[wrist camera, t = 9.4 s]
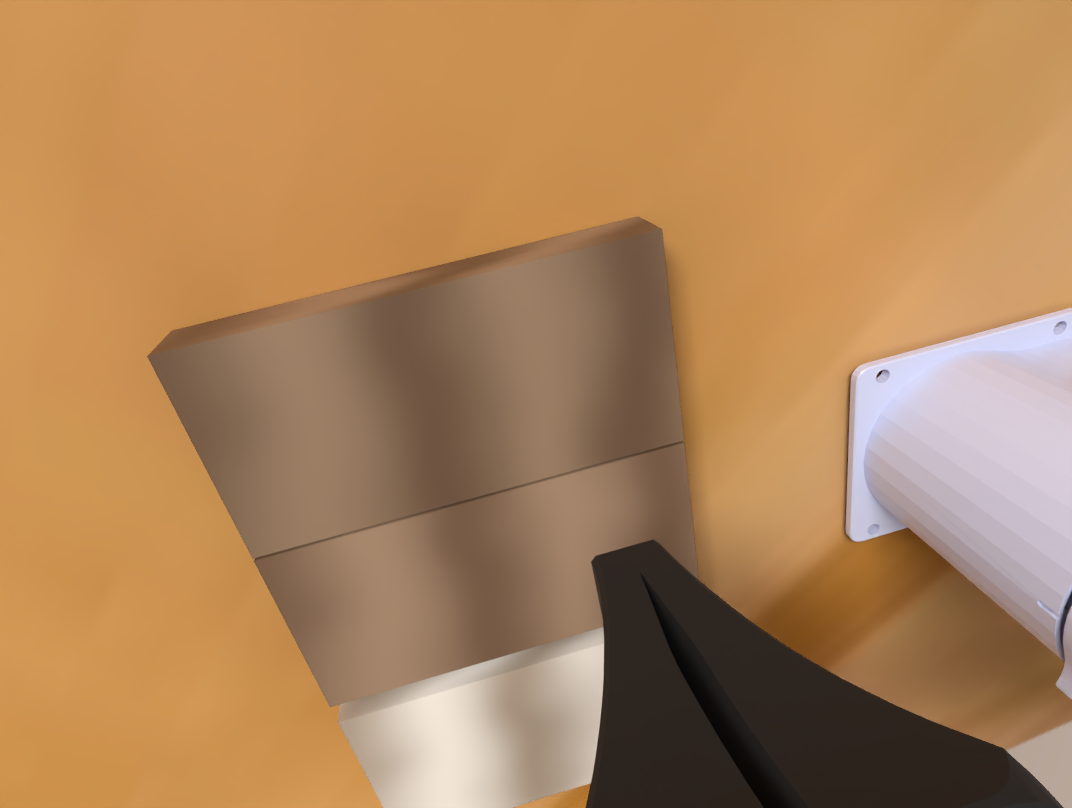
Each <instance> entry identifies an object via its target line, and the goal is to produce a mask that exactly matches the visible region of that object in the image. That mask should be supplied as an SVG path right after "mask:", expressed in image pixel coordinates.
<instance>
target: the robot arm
mask: <svg viewBox="0 0 1072 808" xmlns="http://www.w3.org/2000/svg"><path fill="white" fill-rule="evenodd" d="M880 371H882V373H881V375H880V376H879V377H877V378H876V376H877V374H878V373H879V372H880ZM871 525H872V526H871ZM870 526H871V527H870ZM905 528H909V529H910V530H912V531H913V532H914V533H915V534H916V535H917V536H919V537H920V538H921V539H922V540H923V541H924V542H925V543H927V544H928V545H929V546H930V547H931V548H932V549H934V550H935V551H936V552H937V553H938V554H939V555H941V556H942V557H943V558H944V559H945V560H946V561H948V562H949V563H950V564H951V565H952V566H953V567H955V568H956V569H957V570H958V571H959V572H960V573H961V574H963V575H964V576H965V577H966V578H967V579H968V580H970V581H971V582H972V583H973V584H974V585H975V586H977V587H978V588H979V589H980V590H981V591H982V592H984V593H985V594H986V595H987V596H988V597H989V598H991V599H992V600H993V601H994V602H995V603H996V604H997V605H999V606H1000V607H1001V608H1002V609H1003V610H1004V611H1006V612H1007V613H1008V614H1009V615H1010V616H1011V617H1013V618H1014V619H1015V620H1016V621H1017V622H1018V623H1020V624H1021V625H1022V626H1023V627H1024V628H1025V629H1027V630H1028V631H1029V632H1030V633H1031V634H1032V635H1034V636H1035V637H1036V638H1037V639H1038V640H1039V641H1040V642H1042V643H1043V644H1044V645H1045V646H1046V647H1047V648H1049V649H1050V650H1051V651H1052V652H1053V653H1054V654H1056V655H1057V656H1058V657H1059V658H1060V659H1061V660H1063V661H1064V662H1065V663H1064V668H1063V670H1062V673H1061V675H1060V677H1059V678H1058V680H1057V682H1056V687H1057V688H1059V689H1060V690H1061V691H1062V692H1063V693H1064V694H1065V695H1066V696H1067V697H1069V698H1070V699H1071V700H1072V307H1071V308H1068V309H1064V310H1060V311H1057V312H1053V313H1049V314H1046V315H1042V316H1038V317H1035V318H1031V319H1027V320H1023V321H1020V322H1016V323H1012V324H1009V325H1005V326H1001V327H998V328H994V329H990V330H987V331H983V332H979V333H975V334H972V335H968V336H964V337H961V338H957V339H953V340H950V341H946V342H942V343H939V344H935V345H931V346H927V347H924V348H920V349H916V350H913V351H909V352H905V353H902V354H898V355H894V356H891V357H887V358H883V359H879V360H876V361H872V362H868V363H865V364H862V365H860V366H859V367H857V368H856V369H855V370H854V372H853V374H852V377H851V389H850V418H849V447H848V476H847V505H846V534H847V535H848V536H849V537H850V538H851V539H852V540H853V541H855V542H860V541H864V540H867V539H871V538H874V537H878V536H881V535H884V534H888V533H891V532H895V531H898V530H902V529H905ZM591 564H592V569H593V574H594V579H595V584H596V589H597V594H598V599H599V603H600V608H601V613H602V618H603V631H604V677H603V695H602V707H601V718H600V727H599V735H598V742H597V749H596V757H595V763H594V769H593V775H592V780H591V785H590V790H589V795H588V800H587V805H586V808H1063V807H1062V806H1061V805H1060V803H1059V802H1058V801H1057V800H1056V799H1055V798H1054V797H1053V796H1052V795H1051V794H1050V792H1049V791H1047V789H1046V788H1045V787H1044V786H1043V785H1042V784H1041V783H1040V782H1039V781H1038V780H1037V779H1036V778H1035V777H1034V776H1033V775H1032V774H1031V773H1030V772H1029V771H1028V770H1026V769H1025V768H1024V767H1023V766H1022V765H1021V764H1020V763H1019V762H1017V761H1016V760H1015V759H1014V758H1013V757H1012V756H1011V755H1010V754H1009V753H1008V752H1007V751H1006V750H1005V749H1003V748H1001V747H998V746H996V745H993V744H990V743H988V742H985V741H982V740H980V739H977V738H974V737H972V736H969V735H966V734H964V733H961V732H958V731H956V730H953V729H950V728H948V727H945V726H942V725H940V724H937V723H935V722H932V721H930V720H927V719H925V718H923V717H921V716H918V715H916V714H914V713H911V712H909V711H907V710H905V709H902V708H900V707H898V706H895V705H893V704H891V703H889V702H887V701H885V700H883V699H881V698H879V697H877V696H875V695H873V694H871V693H869V692H867V691H865V690H863V689H861V688H859V687H857V686H855V685H853V684H851V683H849V682H847V681H845V680H843V679H842V678H840V677H838V676H836V675H834V674H833V673H831V672H829V671H827V670H826V669H824V668H822V667H820V666H819V665H817V664H815V663H813V662H812V661H810V660H808V659H807V658H805V657H803V656H802V655H800V654H799V653H797V652H795V651H794V650H792V649H790V648H789V647H787V646H786V645H784V644H783V643H781V642H780V641H778V640H777V639H775V638H774V637H772V636H771V635H769V634H768V633H766V632H765V631H764V630H762V629H761V628H759V627H758V626H757V625H755V624H754V623H752V622H751V621H750V620H748V619H747V618H745V617H744V616H743V615H741V614H740V613H739V612H737V611H736V610H735V609H734V608H732V607H731V606H730V605H728V604H727V603H726V602H725V601H723V600H722V599H721V598H720V597H719V596H717V595H716V594H715V593H714V592H712V591H711V590H710V589H709V588H707V587H706V586H705V585H704V584H703V583H701V582H700V581H699V580H698V579H697V578H696V577H695V576H693V575H692V574H691V573H690V572H689V571H688V570H687V569H686V568H684V567H683V566H682V565H681V564H680V563H679V562H678V561H677V560H676V559H675V558H674V557H673V556H672V555H671V554H670V553H669V552H668V551H667V550H666V549H665V548H664V547H663V546H662V545H661V544H660V543H659V542H657V541H655V540H649V541H646V542H642V543H639V544H635V545H632V546H628V547H625V548H621V549H618V550H614V551H611V552H607V553H604V554H600V555H597V556H595V557H594V558H593V560H592V561H591Z"/></svg>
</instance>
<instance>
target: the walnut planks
mask: <svg viewBox="0 0 1072 808" xmlns="http://www.w3.org/2000/svg"><path fill="white" fill-rule="evenodd" d="M147 357H148V359H149V361H150V362H151V364H152V366H153V368H154V370H155V372H156V374H157V376H158V378H159V380H160V382H161V384H162V386H163V387H164V389H165V391H166V393H167V395H168V397H169V399H170V401H171V403H172V405H173V407H174V409H175V410H176V412H177V414H178V416H179V418H180V420H181V422H182V424H183V426H184V428H185V430H186V432H187V434H188V435H189V437H190V439H191V441H192V443H193V445H194V447H195V449H196V451H197V453H198V455H199V457H200V458H201V460H202V462H203V464H204V466H205V468H206V470H207V472H208V474H209V476H210V478H211V480H212V481H213V483H214V485H215V487H216V489H217V491H218V493H219V495H220V497H221V499H222V501H223V503H224V505H225V506H226V508H227V510H228V512H229V514H230V516H231V518H232V520H233V522H234V524H235V526H236V528H237V529H238V531H239V533H240V535H241V537H242V539H243V541H244V543H245V545H246V547H247V549H248V551H249V553H250V554H251V556H252V558H253V559H254V558H255V560H254V562H255V564H256V566H257V568H258V570H259V572H260V574H261V576H262V577H263V579H264V581H265V583H266V585H267V587H268V589H269V591H270V593H271V595H272V597H273V599H274V600H275V602H276V604H277V606H278V608H279V610H280V612H281V614H282V616H283V618H284V620H285V622H286V624H287V625H288V627H289V629H290V631H291V633H292V635H293V637H294V639H295V641H296V643H297V645H298V647H299V648H300V650H301V652H302V654H303V656H304V658H305V660H306V662H307V664H308V666H309V668H310V670H311V672H312V673H313V675H314V677H315V679H316V681H317V683H318V685H319V687H320V689H321V691H322V693H323V695H324V696H325V698H326V700H327V702H328V704H329V706H330V707H333V706H336V705H340V704H343V703H346V702H350V701H353V700H357V699H360V698H363V697H367V696H370V695H374V694H377V693H380V692H384V691H387V690H391V689H394V688H397V687H401V686H404V685H408V684H411V683H414V682H418V681H421V680H425V679H428V678H431V677H435V676H438V675H442V674H445V673H448V672H452V671H455V670H458V669H462V668H465V667H469V666H472V665H475V664H479V663H482V662H486V661H489V660H492V659H496V658H499V657H503V656H506V655H509V654H513V653H516V652H520V651H523V650H526V649H530V648H533V647H537V646H540V645H543V644H547V643H550V642H553V641H557V640H560V639H564V638H567V637H570V636H574V635H577V634H581V633H584V632H587V631H591V630H594V629H598V628H601V627H603V618H602V613H601V608H600V603H599V599H598V594H597V589H596V584H595V579H594V574H593V569H592V564H591V561H592V560H593V558H594V557H595V556H597V555H600V554H604V553H607V552H611V551H614V550H618V549H621V548H625V547H628V546H632V545H635V544H639V543H642V542H646V541H649V540H655V541H657V542H659V543H660V544H661V545H662V546H663V547H664V548H665V549H666V550H667V551H668V552H669V553H670V554H671V555H672V556H673V557H674V558H675V559H676V560H677V561H678V562H679V563H680V564H681V565H682V566H683V567H684V568H686V569H687V570H688V571H689V572H690V573H691V574H692V575H693V576H695V577H696V578H697V579H698V580H699V577H698V568H697V558H696V549H695V539H694V529H693V520H692V510H691V501H690V491H689V482H688V472H687V462H686V453H685V443H684V442H683V441H684V434H683V424H682V415H681V405H680V395H679V386H678V376H677V367H676V357H675V348H674V338H673V328H672V319H671V309H670V300H669V290H668V281H667V271H666V261H665V252H664V242H663V233H662V229H661V228H659V227H657V226H655V225H654V224H652V223H650V222H648V221H646V220H644V219H642V218H640V217H635V218H631V219H627V220H623V221H618V222H614V223H610V224H606V225H602V226H598V227H594V228H590V229H586V230H582V231H578V232H574V233H569V234H565V235H561V236H557V237H553V238H549V239H545V240H541V241H537V242H533V243H529V244H525V245H520V246H516V247H512V248H508V249H504V250H500V251H496V252H492V253H488V254H484V255H480V256H476V257H471V258H467V259H463V260H459V261H455V262H451V263H447V264H443V265H439V266H435V267H431V268H427V269H422V270H418V271H414V272H410V273H406V274H402V275H398V276H394V277H390V278H386V279H382V280H378V281H373V282H369V283H365V284H361V285H357V286H353V287H349V288H345V289H341V290H337V291H333V292H329V293H324V294H320V295H316V296H312V297H308V298H304V299H300V300H296V301H292V302H288V303H284V304H280V305H275V306H271V307H267V308H263V309H259V310H255V311H251V312H247V313H243V314H239V315H235V316H231V317H226V318H222V319H218V320H214V321H210V322H206V323H202V324H198V325H194V326H190V327H186V328H182V329H177V330H173V331H171V332H170V333H169V334H168V335H167V336H166V337H165V338H164V339H163V340H162V342H161V343H160V344H159V345H158V346H157V347H156V348H155V349H154V350H153V351H152V352H151V353H150V354H149V355H148V356H147Z"/></svg>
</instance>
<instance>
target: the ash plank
mask: <svg viewBox="0 0 1072 808" xmlns="http://www.w3.org/2000/svg"><path fill="white" fill-rule="evenodd" d="M603 677H604V631H603V627H601V628H598V629H594V630H591V631H587V632H584V633H581V634H577V635H574V636H570V637H567V638H564V639H560V640H557V641H553V642H550V643H547V644H543V645H540V646H537V647H533V648H530V649H526V650H523V651H520V652H516V653H513V654H509V655H506V656H503V657H499V658H496V659H492V660H489V661H486V662H482V663H479V664H475V665H472V666H469V667H465V668H462V669H458V670H455V671H452V672H448V673H445V674H442V675H438V676H435V677H431V678H428V679H425V680H421V681H418V682H414V683H411V684H408V685H404V686H401V687H397V688H394V689H391V690H387V691H384V692H380V693H377V694H374V695H370V696H367V697H363V698H360V699H357V700H353V701H350V702H346V703H343V704H340V709H339V720H338V723H339V725H340V727H341V729H342V731H343V732H344V734H345V736H346V738H347V740H348V742H349V744H350V746H351V748H352V749H353V751H354V753H355V755H356V757H357V759H358V761H359V763H360V764H361V766H362V768H363V770H364V772H365V774H366V776H367V778H368V780H369V781H370V783H371V785H372V787H373V789H374V791H375V793H376V795H377V796H378V798H379V800H380V802H381V804H382V806H383V808H513V807H516V806H519V805H522V804H525V803H529V802H532V801H535V800H538V799H541V798H545V797H548V796H551V795H554V794H557V793H561V792H564V791H567V790H570V789H573V788H576V787H580V786H583V785H586V784H589V783H591V780H592V775H593V769H594V763H595V757H596V749H597V742H598V735H599V727H600V718H601V707H602V695H603Z"/></svg>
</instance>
